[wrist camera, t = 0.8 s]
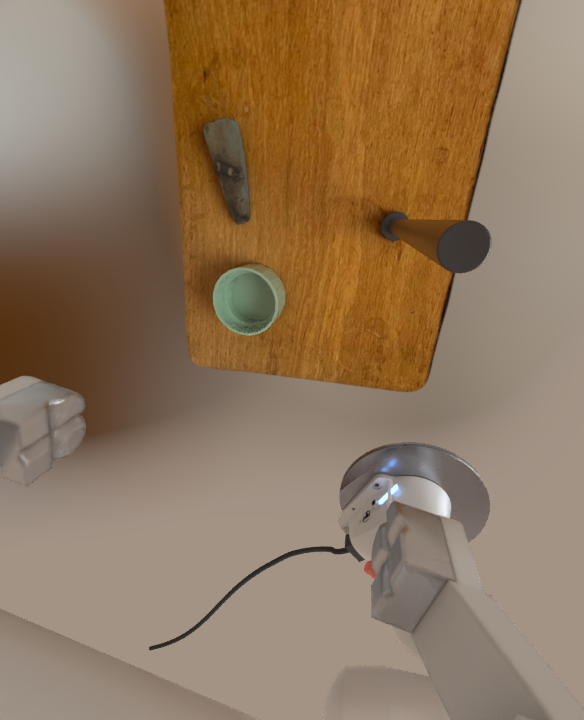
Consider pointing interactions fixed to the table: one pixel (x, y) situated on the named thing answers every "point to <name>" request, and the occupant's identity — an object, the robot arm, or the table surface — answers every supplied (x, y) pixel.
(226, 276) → the bowl
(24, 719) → the robot arm
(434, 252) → the stick
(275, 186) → the table surface
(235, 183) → the stone
